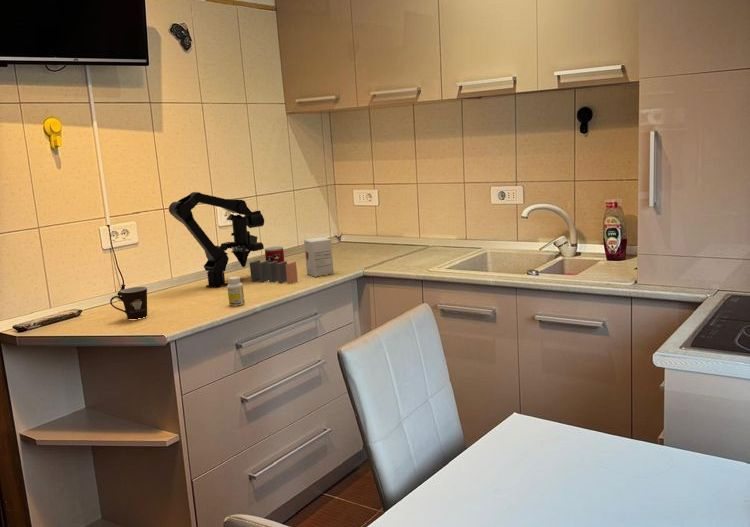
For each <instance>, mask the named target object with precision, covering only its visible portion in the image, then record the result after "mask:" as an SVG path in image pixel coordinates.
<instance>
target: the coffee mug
mask: <svg viewBox="0 0 750 527" xmlns="http://www.w3.org/2000/svg"><path fill="white" fill-rule="evenodd" d="M120 294H121V295H120V296H119V295H115V296H112V297H111V298H110V300H109V304H110V305H111V306H112V307H113V308H114V309H116V310H119V311H120V312H122V313H125V315H126V318H127V320H128V319H138V318H143V317H146V316H147V317H148V287H146V286H134V287H133V286H132V287H128V288H124V289H121V290H120ZM117 298H118V299H119V300H120V301H121V302H123V306H124V310H123V309H122V308H119V307H117V306H115V305H114V304H113V300H114V299H117Z"/></svg>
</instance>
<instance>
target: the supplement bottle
mask: <svg viewBox="0 0 750 527" xmlns="http://www.w3.org/2000/svg"><path fill="white" fill-rule="evenodd" d="M227 280H228V284H227V287H226V288H227V295H228V303H229V304H228V305H229V306H230V305H233V306H232V307H236V306H235V305H240V306H242V304H243V305H245V293H244V286H243V283H242V282H241V277H240V276H230V277H228V278H227Z"/></svg>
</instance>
